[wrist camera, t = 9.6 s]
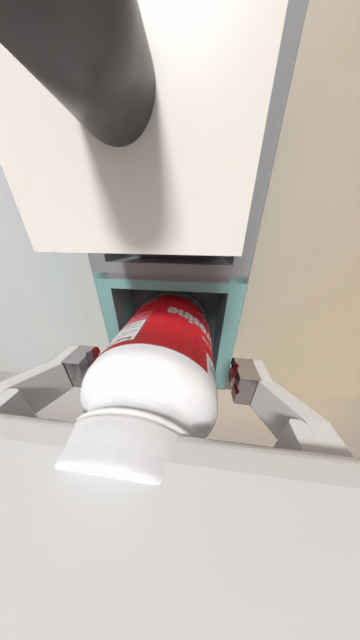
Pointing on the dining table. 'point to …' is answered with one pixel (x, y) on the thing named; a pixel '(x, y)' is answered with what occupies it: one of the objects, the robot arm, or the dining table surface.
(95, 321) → the dining table surface
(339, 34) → the dining table surface
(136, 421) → the pill bottle
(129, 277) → the teal tray with block
